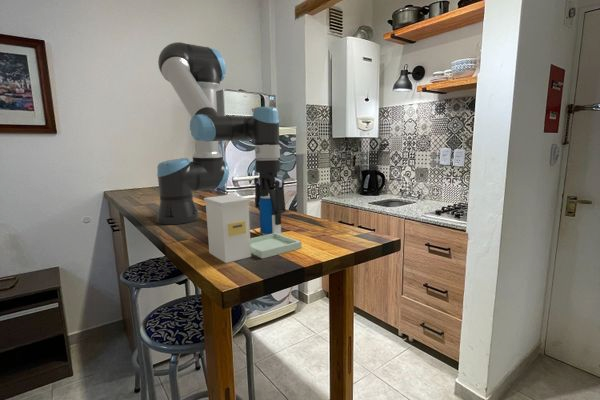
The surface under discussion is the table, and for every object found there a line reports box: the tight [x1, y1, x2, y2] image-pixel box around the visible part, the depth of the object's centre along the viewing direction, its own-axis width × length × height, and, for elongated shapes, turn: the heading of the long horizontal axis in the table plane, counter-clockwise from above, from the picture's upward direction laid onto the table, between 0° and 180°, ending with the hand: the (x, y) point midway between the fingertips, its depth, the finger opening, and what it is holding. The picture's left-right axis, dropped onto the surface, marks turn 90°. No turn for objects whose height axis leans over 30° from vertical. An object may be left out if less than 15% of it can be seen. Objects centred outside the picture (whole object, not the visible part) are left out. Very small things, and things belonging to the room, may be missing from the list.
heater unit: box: [203, 194, 252, 264], centre depth 84 cm, size 11×8×15 cm
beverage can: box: [258, 195, 277, 236], centre depth 103 cm, size 6×6×12 cm
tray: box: [250, 233, 302, 260], centre depth 90 cm, size 12×12×2 cm
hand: (270, 232), depth 104 cm, fingers closed on beverage can, 6 cm apart
